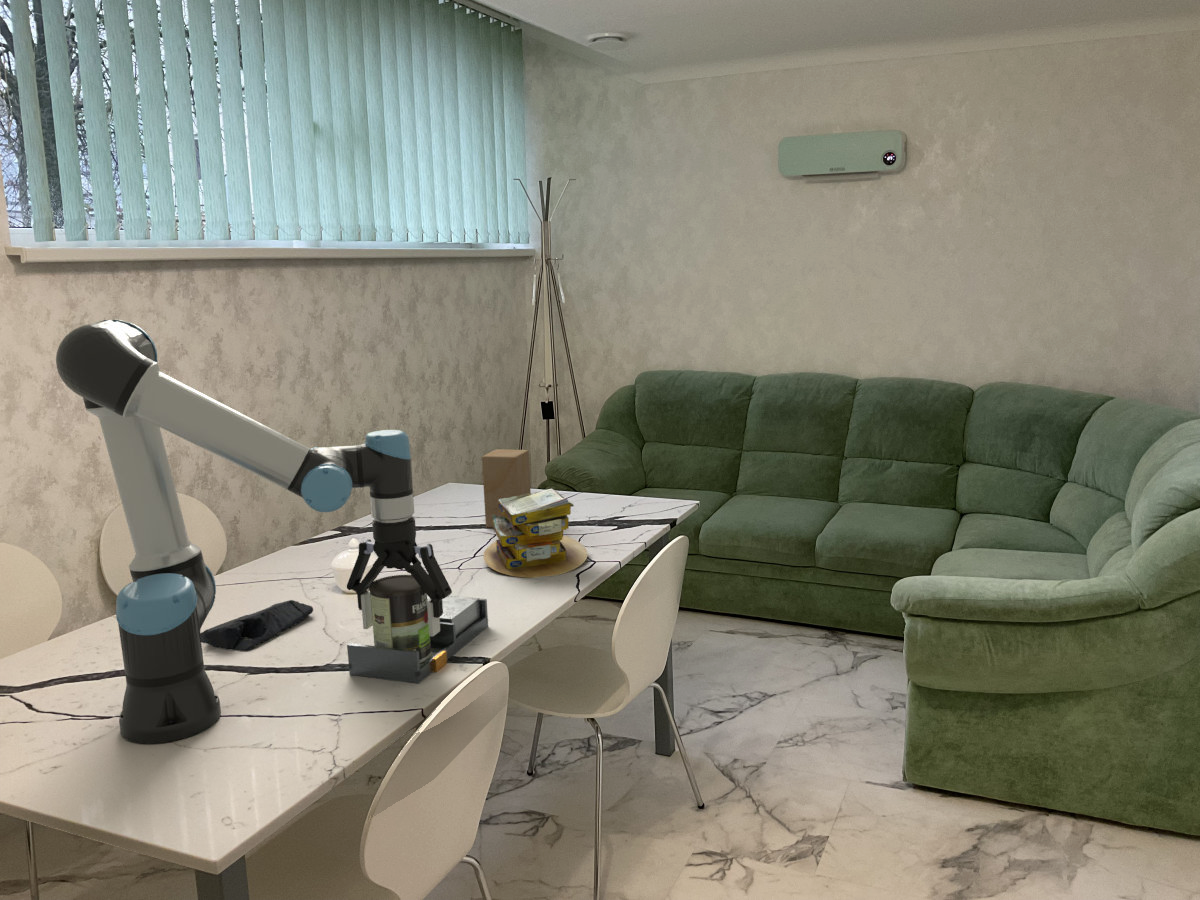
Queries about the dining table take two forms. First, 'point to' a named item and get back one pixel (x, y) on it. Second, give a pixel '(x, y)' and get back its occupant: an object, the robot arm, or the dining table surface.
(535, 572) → the stacked yellow boxes
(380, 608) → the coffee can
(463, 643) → the rack
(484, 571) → the dining table surface
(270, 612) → the black pouch
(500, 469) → the wooden block
